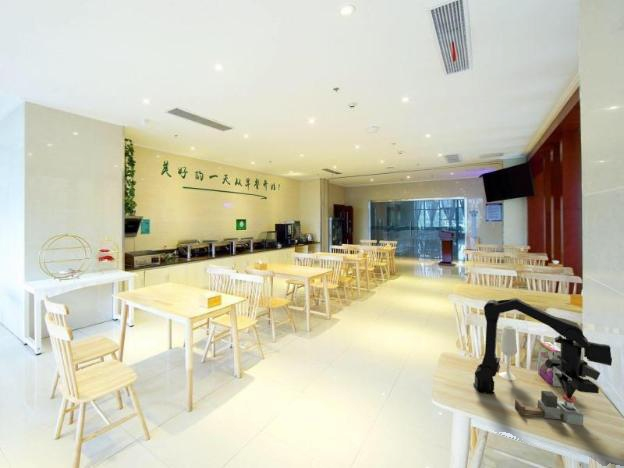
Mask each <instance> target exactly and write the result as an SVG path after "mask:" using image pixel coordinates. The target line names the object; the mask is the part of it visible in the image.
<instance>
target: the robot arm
mask: <svg viewBox="0 0 624 468" xmlns="http://www.w3.org/2000/svg"><path fill="white" fill-rule="evenodd" d="M510 311H517V312H520V313H522V314H523V315H526V316H527V317H529V318H532V319H533V320H536V321H538V322H540V323H542V324H544V325H545V326H548V327H549V328H551V329H553V330H554V332H556V333H558V336H556V337H554V342H555V343H557V344H560V349H561V351H560V355H557V358H558V359H560V360H553V359H547V360H546V361H545V366H547V367H548V368H549V369H551V368H552V366H555V367H556V368H557V369H556V370H557V373H555V375H556V376H557V378H558V380H559V382H560V384H561V386H562V387H561V388H562V389H563V392H564V394H566V396H567V397H569V398H571V397H572V396H574V394H575V392H576V391H578V392H581V393H588V394H589V393H590V394H599V392H600V387H599V386H598V385H597V384H596V383H594V382H593V381H592V380H590V379H587V378H586V377H588V378H591V379H593V380H595V381H598V379H599V377H600V375H601V372H600V371H598V370H597V369H595V368H594V367H592V366H590V365H589V364H588V362H592V363H595V364H596V363H598V364H601V365H605V366H612V363H613V357H612V351H611V346H610V345H609V344H602V343H596V342H591V341H588V338H587V337H586V335H584V332H583V330H582V327H581V326H580V325H579V324H578V323H577V322H576V321H572V320H568V319H566V318H562V317H558V316H555V315H552V314H550V313H548V312H546V311H544V310H541V309H539V308H537V307H535V306H533V305H531V304H528V303H526V302H524V301H522V300H521V299H519V298H516V297H514V298H509V299H501V300H495V299H490V300H487V302H486V303H485V304H484V306H483V312H484V317H485V321H486V327H485V328H486V329H485V330H486V331H485V346H484V347H485V348H484V355H483V359H482V362H481V363H480V364H478V365H477V367H476V370H475V371H474V383H472V385H473V387H474V388H475V390H476V392H478V393H479V394H480V393H481V394H491V395H495V381H494V377H496V376H497V373H498V374H499V372H500V369H501V365H500V362H501V357H497V352H496V351H497V333H498V322H499V318H500V315H501V314H502V313H507V312H510ZM582 349H583V358H586V360H587V361H588V362H587V361H585V360H584V359H582Z"/></svg>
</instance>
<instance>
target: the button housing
mask: <svg viewBox="0 0 624 468" xmlns="http://www.w3.org/2000/svg"><path fill="white" fill-rule="evenodd" d="M557 406H558V407H559V408H560V411H561V412H562V413H563V419H562V420H563V421H564V422H565V423H566V424H569V425H579V426H584V416H585V415H584V414H583V412H581V411H580V410H579V409H578V408H576V407H575V406H573V411H572V410H566V409H565V408H564V401H560V400H557Z"/></svg>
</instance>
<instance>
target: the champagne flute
mask: <svg viewBox="0 0 624 468" xmlns="http://www.w3.org/2000/svg"><path fill="white" fill-rule="evenodd" d="M501 331H502V333H501V338H500V345H499V350H500V351H501V352H502V353H503V354H504V356H506V364H505V365H506V367H505V369H506V370H505V371H504V372H500V373H499V372H498V374H499V377H501V378H502V379H505V380H508V381H509V380H510V381H515V380H517V378H516V376H514V375H513V374H512V373H510V363H511V362H510V361H511V360H510V359H511V357H513V356H515V355H516V354H517V353H518V347H517V334H516V333H517V331H516V326H512V325H509V324H507V325H506V324H505V325H503V326H502V330H501Z"/></svg>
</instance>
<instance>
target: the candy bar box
mask: <svg viewBox="0 0 624 468" xmlns="http://www.w3.org/2000/svg"><path fill="white" fill-rule="evenodd" d="M560 351H561V348H560V347H558V346H556V345H555V344H554V343H552V342H551V341H543V340H540V341H538V363H537V364H538V365H537V368H538V369H537V375H539V376H541V378H543V379H544V380H545V381H546V382H547V383H549V385H551V387H556V388H557V387H558V388H562V386H561V384H560V382H559V380H558V378H557V376H556V375H555V373H557V370H556V369H557V368H556V367H555V366H552V368H551V369H549V368H548V367H547V366H545V361H546V360H547V359H553V360H560V359H558V358H557V355H560Z"/></svg>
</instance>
